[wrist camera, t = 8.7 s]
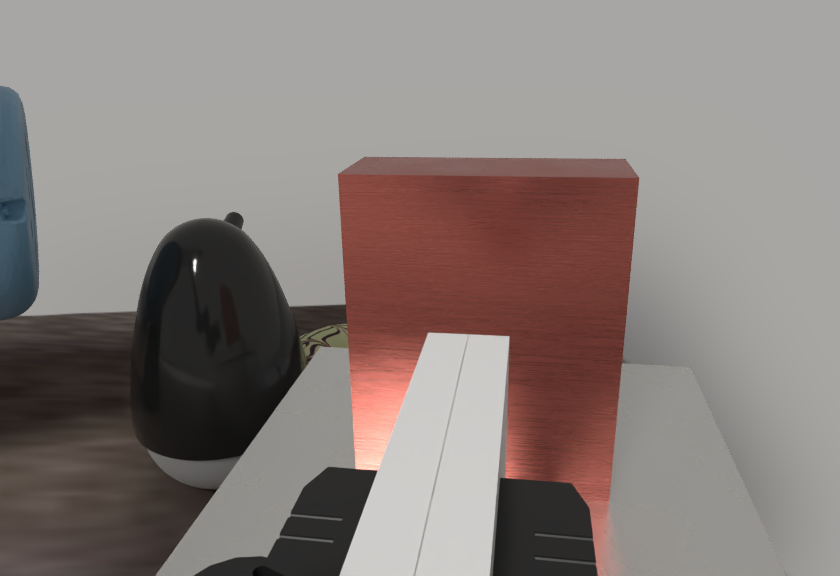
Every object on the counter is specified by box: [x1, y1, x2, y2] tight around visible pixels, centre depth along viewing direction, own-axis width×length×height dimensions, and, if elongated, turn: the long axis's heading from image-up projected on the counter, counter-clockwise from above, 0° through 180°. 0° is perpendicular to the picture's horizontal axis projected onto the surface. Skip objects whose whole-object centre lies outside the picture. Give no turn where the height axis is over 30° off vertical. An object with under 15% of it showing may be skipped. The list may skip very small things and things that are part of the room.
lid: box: [156, 157, 786, 576], centre depth 21 cm, size 17×17×11 cm
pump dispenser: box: [130, 212, 308, 489], centre depth 39 cm, size 10×10×15 cm
